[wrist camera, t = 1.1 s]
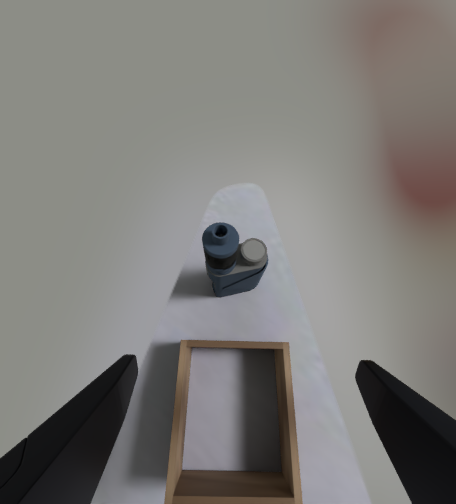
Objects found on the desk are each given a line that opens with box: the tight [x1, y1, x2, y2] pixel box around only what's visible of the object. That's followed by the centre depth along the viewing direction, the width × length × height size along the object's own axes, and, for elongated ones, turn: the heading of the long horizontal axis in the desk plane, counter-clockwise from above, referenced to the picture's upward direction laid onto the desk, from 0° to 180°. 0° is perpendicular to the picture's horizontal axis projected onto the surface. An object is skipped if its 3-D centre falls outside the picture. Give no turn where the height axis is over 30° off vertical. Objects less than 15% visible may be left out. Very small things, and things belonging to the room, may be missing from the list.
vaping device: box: [202, 223, 268, 297], centre depth 19 cm, size 3×5×12 cm, turn 103°
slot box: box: [164, 340, 303, 504], centre depth 18 cm, size 10×9×4 cm
